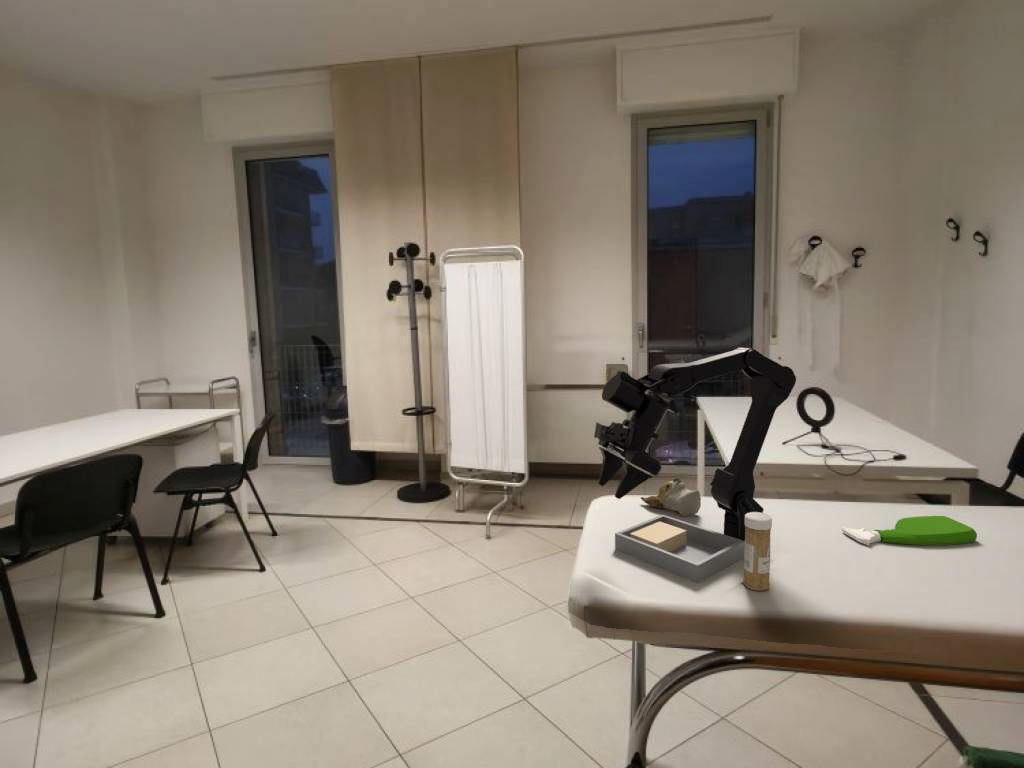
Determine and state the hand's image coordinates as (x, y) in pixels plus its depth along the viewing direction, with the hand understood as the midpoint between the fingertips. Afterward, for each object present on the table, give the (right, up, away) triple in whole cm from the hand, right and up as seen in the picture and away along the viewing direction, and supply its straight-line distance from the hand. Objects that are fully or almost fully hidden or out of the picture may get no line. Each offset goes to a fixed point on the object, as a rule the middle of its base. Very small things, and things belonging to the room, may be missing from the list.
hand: (608, 491), depth 117 cm
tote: (+15, -14, +3) cm, 20 cm away
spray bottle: (+66, -12, +9) cm, 68 cm away
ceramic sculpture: (+21, -10, +28) cm, 37 cm away
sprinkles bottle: (+25, -16, -10) cm, 32 cm away
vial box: (+12, -13, +7) cm, 19 cm away
